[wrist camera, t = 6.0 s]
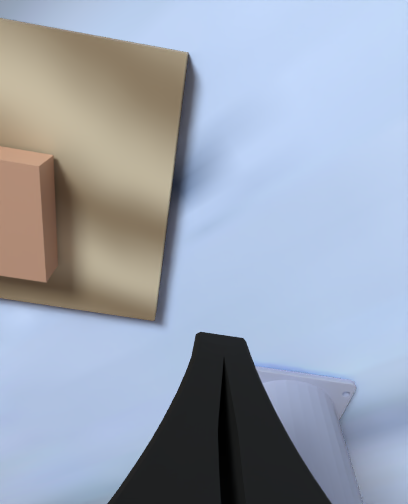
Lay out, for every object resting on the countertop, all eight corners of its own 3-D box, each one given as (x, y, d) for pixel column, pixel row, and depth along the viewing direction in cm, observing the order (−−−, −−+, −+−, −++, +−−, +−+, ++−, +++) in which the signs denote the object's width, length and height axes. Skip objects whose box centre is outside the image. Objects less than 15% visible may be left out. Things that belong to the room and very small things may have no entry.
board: (156, 312, 23) (154, 320, 22) (-65, 278, 22) (-74, 287, 22) (188, 52, 16) (187, 53, 15) (-135, -7, 15) (-152, -9, 14)
